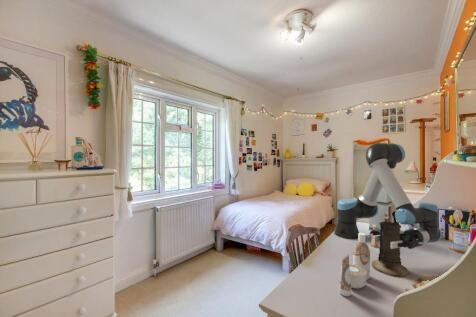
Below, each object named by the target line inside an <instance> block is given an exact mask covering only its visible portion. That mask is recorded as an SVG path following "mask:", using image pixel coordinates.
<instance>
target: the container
mask: <svg viewBox="0 0 476 317" xmlns="http://www.w3.org/2000/svg"><path fill="white" fill-rule="evenodd" d="M380 228H381V231H380V241H379V247H378V248H379V249H378V250H379V253H378V257H377V260H379V261H380V262H381V263H383V264H386V265H389V266H401V265H402V259H401V247H399V248H394V249H391V242H395V241H400V233H401V228H402V224H400V223H398V222H392V221H385V222H380Z"/></svg>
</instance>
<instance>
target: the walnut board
mask: <svg viewBox="0 0 476 317" xmlns="http://www.w3.org/2000/svg"><path fill="white" fill-rule="evenodd" d="M371 267H372V268H373V269H374V270H375V271H378V272H379V273H381V274H384V275H388V276H391V277H398V278H399V277H400V278H401V276H402V277H406V276H407V275H408V272H409V271H408V268H407V267H406V266H404V265H403V264H401V266H389V265H386V264H383V263H381V262H380V261H379V260H378V259H373V260H372V262H371Z"/></svg>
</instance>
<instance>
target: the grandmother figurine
mask: <svg viewBox="0 0 476 317" xmlns="http://www.w3.org/2000/svg"><path fill="white" fill-rule="evenodd" d="M378 229H379V227H378V226H377V225H373V230H372V231H371V230H370V231H369V234H368V236H369V237H371V242H370V244H369V246H370V247H374V248H377V249H378V248H380V241H378V242H374V241H373V236H375V235H379V232H378V231H377V230H378Z"/></svg>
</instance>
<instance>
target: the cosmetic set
mask: <svg viewBox="0 0 476 317" xmlns="http://www.w3.org/2000/svg"><path fill="white" fill-rule="evenodd" d="M352 250H353V252H352V264H351V263H350V253H348V254H346V255H345V256H344V257H343V258H342V260H341V263H342V264H341V266H340V276H339V283H338V292H339V294H340V295H341V296H343V297H351V296H352V294H353V293H352V292H353V291H352V288H353V289H362V288H363V287H365V286H366V284H367V280H369V279H370V276H371V275H370V274H371V273H370V272H371V271H370V270H371V266H370V265H371V250H370V248H369V245H368V244H367V242H366V233H363V232H359V233H358V238H357V242H355V244H354V246H353V248H352Z"/></svg>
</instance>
